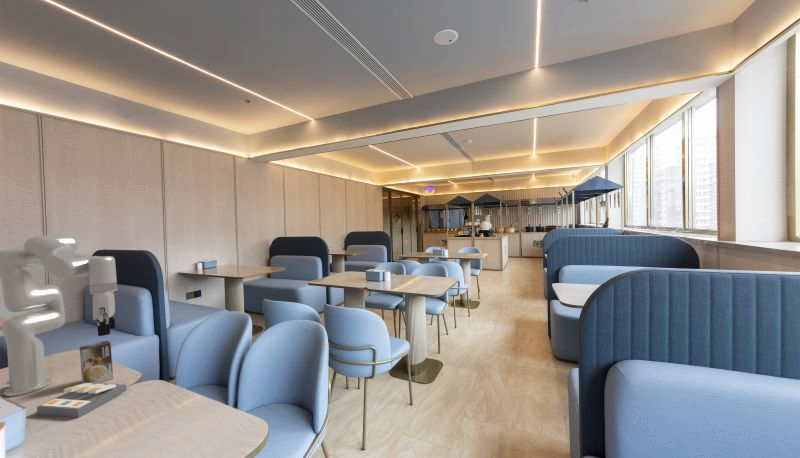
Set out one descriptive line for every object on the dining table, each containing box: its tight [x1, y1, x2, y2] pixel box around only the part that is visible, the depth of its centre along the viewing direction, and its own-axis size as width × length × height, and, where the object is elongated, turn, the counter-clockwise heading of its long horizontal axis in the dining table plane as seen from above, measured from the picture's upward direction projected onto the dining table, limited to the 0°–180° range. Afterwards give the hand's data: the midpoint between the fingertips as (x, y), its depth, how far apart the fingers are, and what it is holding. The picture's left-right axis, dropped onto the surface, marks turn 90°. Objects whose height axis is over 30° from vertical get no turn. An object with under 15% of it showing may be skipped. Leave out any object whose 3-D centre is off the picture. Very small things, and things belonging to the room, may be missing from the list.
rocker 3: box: [88, 383, 116, 394], centre depth 115 cm, size 4×7×1 cm, turn 171°
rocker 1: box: [63, 383, 93, 393], centre depth 116 cm, size 4×7×1 cm, turn 172°
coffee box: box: [79, 340, 114, 384], centre depth 130 cm, size 9×6×16 cm
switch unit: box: [36, 382, 128, 419], centre depth 113 cm, size 18×16×4 cm
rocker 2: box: [76, 384, 104, 393], centre depth 116 cm, size 4×7×1 cm, turn 172°
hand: (107, 331), depth 115 cm, fingers open, 9 cm apart
